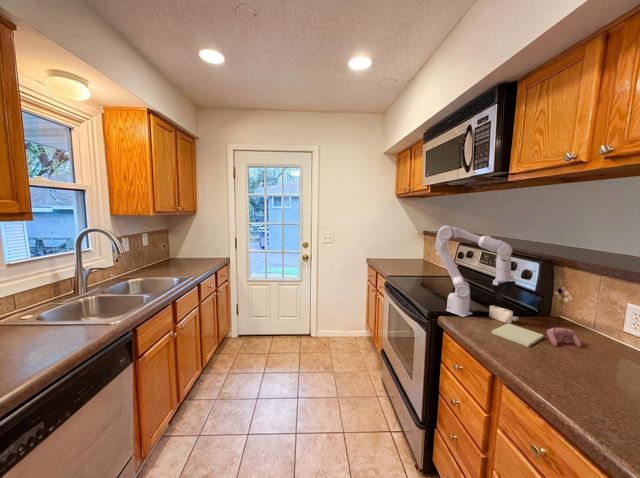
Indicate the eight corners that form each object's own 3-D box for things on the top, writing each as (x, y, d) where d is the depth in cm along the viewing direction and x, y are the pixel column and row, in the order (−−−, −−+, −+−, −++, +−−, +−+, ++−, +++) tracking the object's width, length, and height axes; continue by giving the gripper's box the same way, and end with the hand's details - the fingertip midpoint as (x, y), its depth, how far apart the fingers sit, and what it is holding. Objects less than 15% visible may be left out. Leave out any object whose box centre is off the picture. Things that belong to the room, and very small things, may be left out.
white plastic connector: (487, 316, 133) (488, 306, 133) (491, 314, 135) (492, 305, 135) (514, 325, 124) (515, 314, 123) (518, 323, 125) (519, 313, 125)
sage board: (491, 333, 115) (491, 330, 115) (507, 325, 123) (508, 323, 123) (528, 346, 105) (528, 343, 104) (543, 337, 112) (543, 334, 112)
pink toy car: (574, 347, 108) (569, 328, 110) (583, 347, 104) (578, 327, 106) (546, 345, 109) (543, 327, 111) (555, 346, 105) (551, 326, 107)
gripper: (505, 272, 120) (504, 303, 121) (520, 267, 128) (520, 296, 129) (488, 270, 126) (487, 299, 127) (503, 265, 134) (503, 293, 135)
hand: (503, 297), depth 128 cm, fingers open, 7 cm apart
